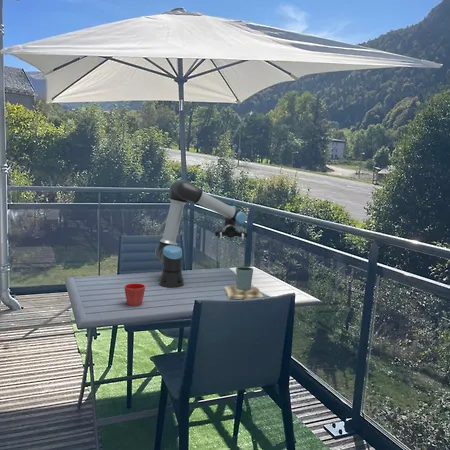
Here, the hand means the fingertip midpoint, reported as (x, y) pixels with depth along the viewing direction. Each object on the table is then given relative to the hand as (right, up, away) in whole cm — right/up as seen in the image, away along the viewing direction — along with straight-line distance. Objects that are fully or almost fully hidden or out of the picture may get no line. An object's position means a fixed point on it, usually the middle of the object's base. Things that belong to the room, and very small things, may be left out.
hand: (232, 236), depth 275 cm
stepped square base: (+6, -34, -9) cm, 36 cm away
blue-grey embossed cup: (+7, -30, -10) cm, 32 cm away
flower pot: (-53, -35, -35) cm, 72 cm away
